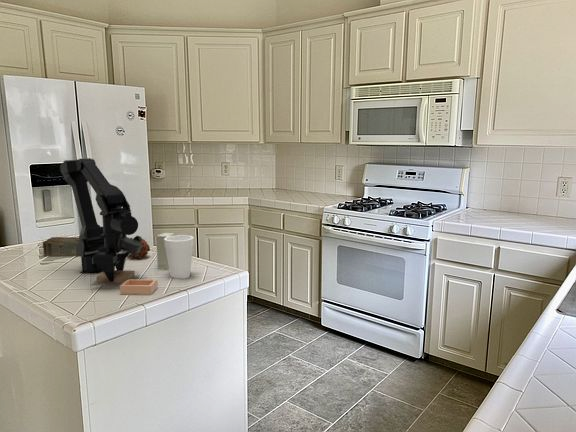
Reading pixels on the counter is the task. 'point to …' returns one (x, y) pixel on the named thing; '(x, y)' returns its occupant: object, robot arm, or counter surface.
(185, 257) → the foam cup
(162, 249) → the skincare box
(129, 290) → the dish
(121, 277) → the lid
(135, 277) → the mat
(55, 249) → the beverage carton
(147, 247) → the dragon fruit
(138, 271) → the counter surface
